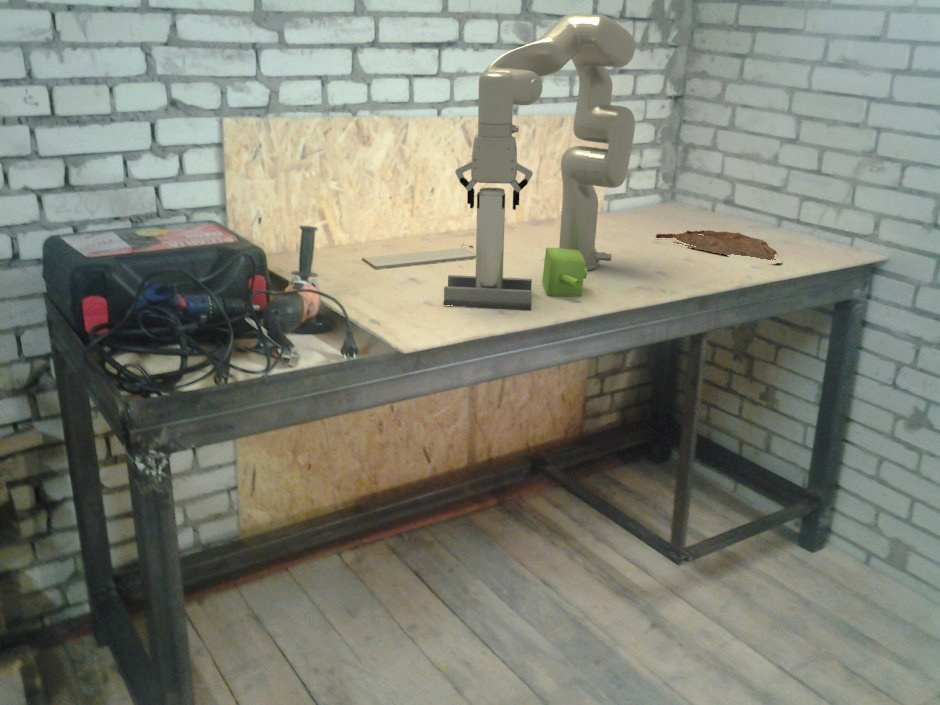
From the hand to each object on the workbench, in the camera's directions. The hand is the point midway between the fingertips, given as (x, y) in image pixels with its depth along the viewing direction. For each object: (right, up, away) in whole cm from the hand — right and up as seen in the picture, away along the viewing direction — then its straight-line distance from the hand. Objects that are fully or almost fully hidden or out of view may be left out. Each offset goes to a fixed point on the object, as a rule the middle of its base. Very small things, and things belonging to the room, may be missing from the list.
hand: (493, 207), depth 198 cm
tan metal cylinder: (-1, -20, +7) cm, 21 cm away
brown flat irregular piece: (+74, -3, +63) cm, 97 cm away
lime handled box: (+18, -18, +16) cm, 30 cm away
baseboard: (-19, -8, +41) cm, 46 cm away
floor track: (-1, -20, +7) cm, 22 cm away
